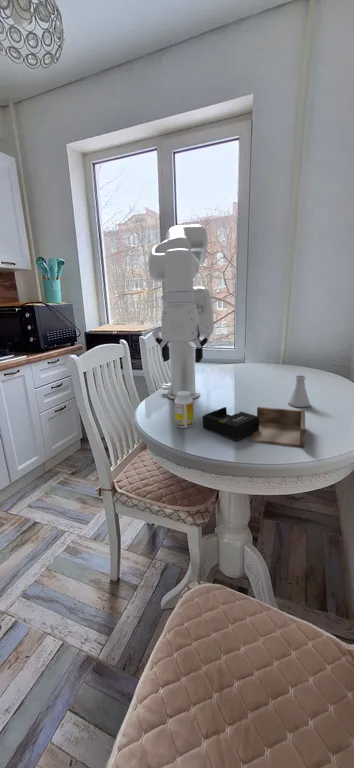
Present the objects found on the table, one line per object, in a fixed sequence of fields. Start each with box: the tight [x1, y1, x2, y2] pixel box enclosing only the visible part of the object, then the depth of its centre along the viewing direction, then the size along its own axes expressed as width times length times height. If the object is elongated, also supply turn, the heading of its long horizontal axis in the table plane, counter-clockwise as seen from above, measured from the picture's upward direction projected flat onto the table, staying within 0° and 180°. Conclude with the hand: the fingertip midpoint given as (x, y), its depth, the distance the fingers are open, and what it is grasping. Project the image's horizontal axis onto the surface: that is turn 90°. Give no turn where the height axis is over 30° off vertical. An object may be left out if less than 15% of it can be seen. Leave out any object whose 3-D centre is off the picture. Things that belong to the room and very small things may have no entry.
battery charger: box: [202, 406, 259, 442], centre depth 90 cm, size 13×10×4 cm
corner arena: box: [250, 406, 306, 448], centre depth 87 cm, size 13×13×5 cm
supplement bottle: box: [173, 391, 195, 429], centre depth 95 cm, size 6×6×10 cm
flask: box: [288, 374, 311, 408], centre depth 108 cm, size 7×7×10 cm
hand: (182, 361), depth 90 cm, fingers open, 9 cm apart
